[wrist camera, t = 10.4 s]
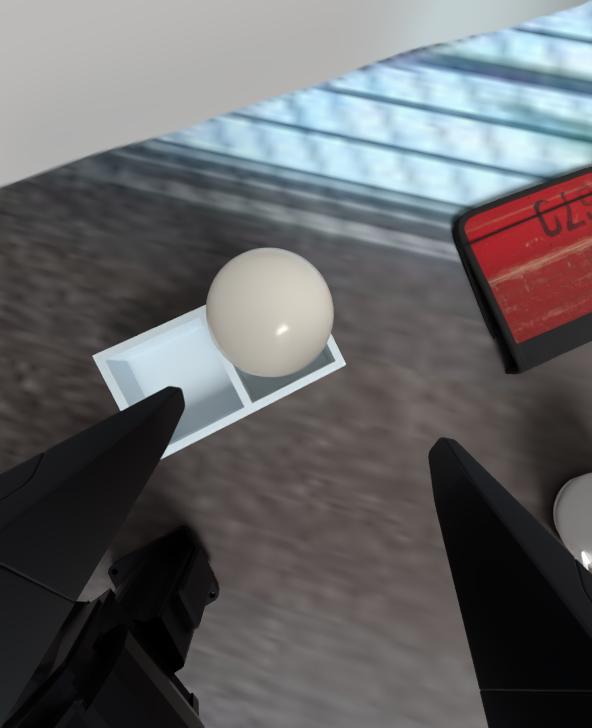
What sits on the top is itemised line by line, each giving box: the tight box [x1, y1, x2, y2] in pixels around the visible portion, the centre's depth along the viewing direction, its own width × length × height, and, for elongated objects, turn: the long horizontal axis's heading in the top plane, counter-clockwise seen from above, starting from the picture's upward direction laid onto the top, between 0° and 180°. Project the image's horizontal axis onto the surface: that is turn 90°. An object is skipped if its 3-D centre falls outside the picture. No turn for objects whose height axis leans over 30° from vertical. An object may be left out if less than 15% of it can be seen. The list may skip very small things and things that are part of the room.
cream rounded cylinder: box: [206, 248, 334, 377], centre depth 14 cm, size 5×5×13 cm
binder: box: [453, 167, 592, 374], centre depth 24 cm, size 16×2×21 cm
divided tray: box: [93, 305, 346, 460], centre depth 19 cm, size 16×8×4 cm, turn 116°
